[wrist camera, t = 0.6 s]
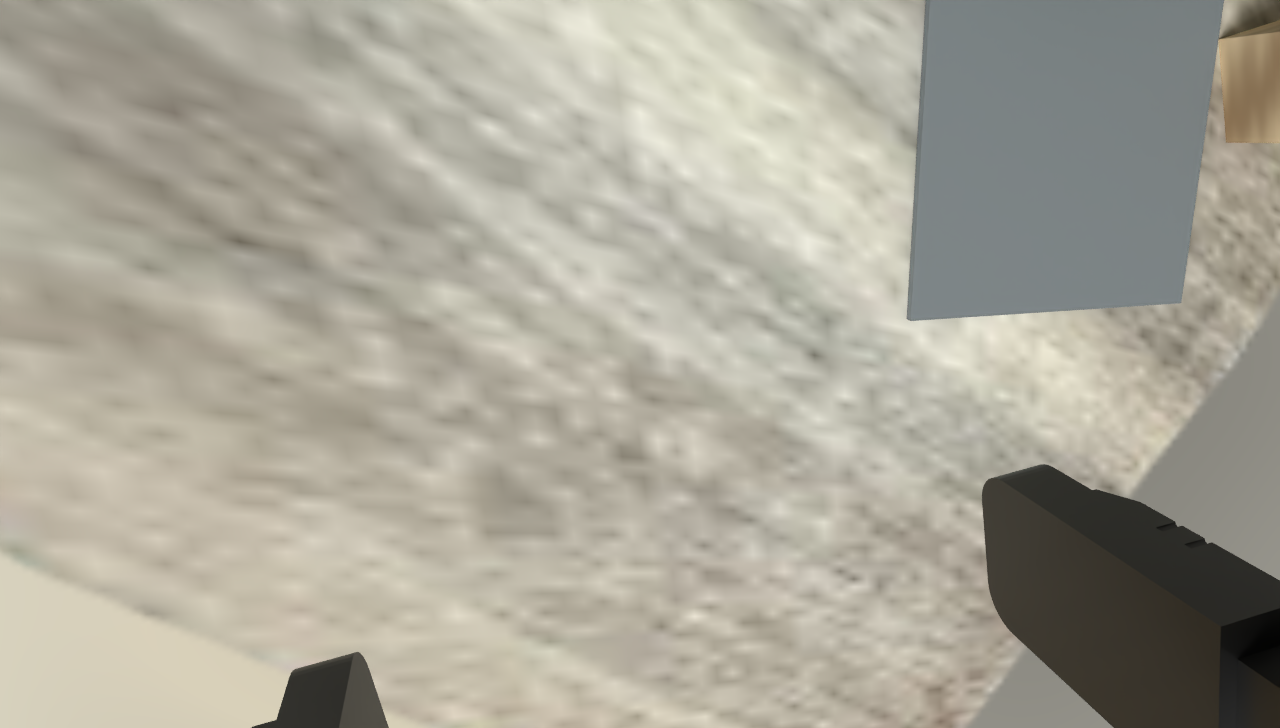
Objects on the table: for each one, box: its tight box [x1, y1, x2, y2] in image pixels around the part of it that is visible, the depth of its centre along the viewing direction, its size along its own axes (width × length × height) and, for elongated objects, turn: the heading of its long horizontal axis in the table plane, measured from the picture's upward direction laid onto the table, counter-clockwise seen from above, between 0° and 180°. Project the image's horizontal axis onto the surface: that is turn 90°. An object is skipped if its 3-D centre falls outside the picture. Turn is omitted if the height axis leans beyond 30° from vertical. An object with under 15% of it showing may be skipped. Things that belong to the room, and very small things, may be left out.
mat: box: [907, 0, 1224, 321], centre depth 41 cm, size 16×15×1 cm
